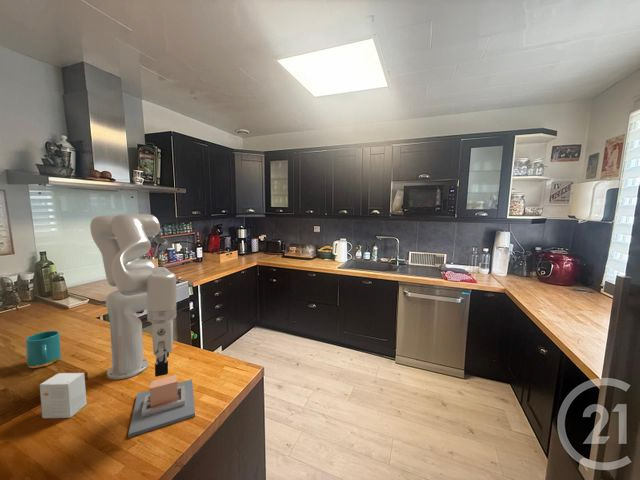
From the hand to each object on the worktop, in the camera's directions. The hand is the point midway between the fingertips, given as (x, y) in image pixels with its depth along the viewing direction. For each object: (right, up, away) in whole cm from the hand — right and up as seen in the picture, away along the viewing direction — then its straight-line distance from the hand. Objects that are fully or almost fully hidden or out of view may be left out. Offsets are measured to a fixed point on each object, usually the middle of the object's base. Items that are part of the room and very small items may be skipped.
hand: (162, 365), depth 79 cm
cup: (-59, -10, +21) cm, 63 cm away
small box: (-28, -13, -3) cm, 30 cm away
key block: (0, -12, 0) cm, 12 cm away
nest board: (+1, -13, 0) cm, 13 cm away
